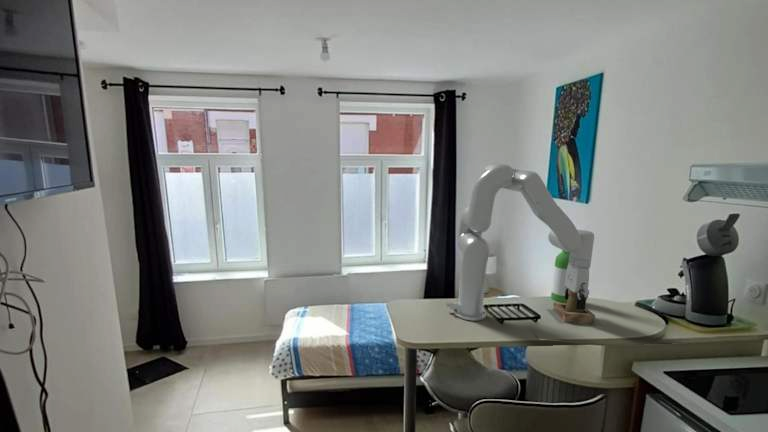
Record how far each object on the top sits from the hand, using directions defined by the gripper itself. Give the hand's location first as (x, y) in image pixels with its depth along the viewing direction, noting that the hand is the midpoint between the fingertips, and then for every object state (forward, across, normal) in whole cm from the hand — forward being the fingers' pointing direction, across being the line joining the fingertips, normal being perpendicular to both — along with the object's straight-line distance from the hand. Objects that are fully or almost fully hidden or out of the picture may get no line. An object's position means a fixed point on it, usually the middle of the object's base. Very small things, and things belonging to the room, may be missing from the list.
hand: (574, 304), depth 143 cm
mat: (+6, 0, -1) cm, 6 cm away
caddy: (+5, 0, 0) cm, 5 cm away
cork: (+5, 0, 0) cm, 5 cm away
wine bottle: (+6, -19, +3) cm, 20 cm away
